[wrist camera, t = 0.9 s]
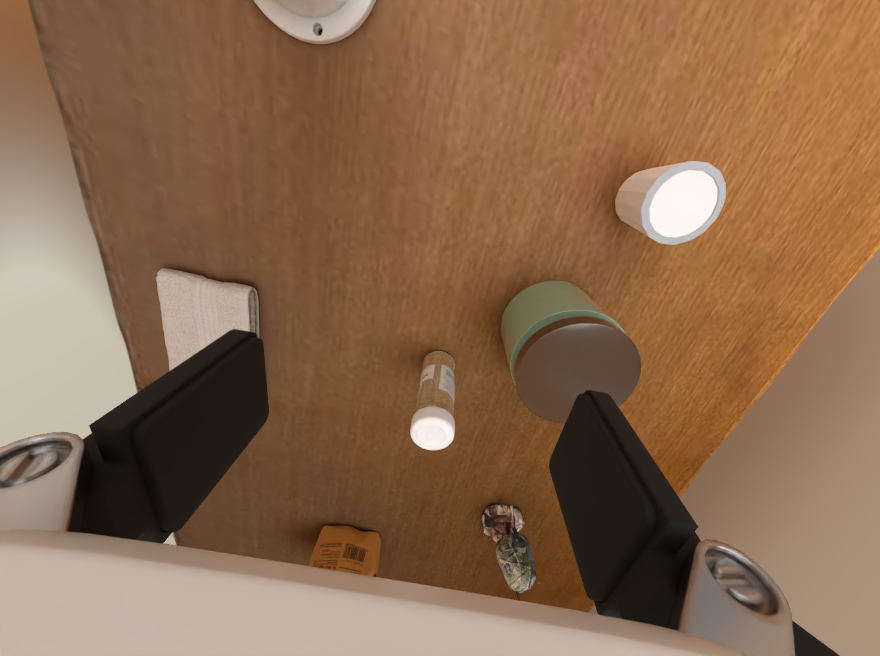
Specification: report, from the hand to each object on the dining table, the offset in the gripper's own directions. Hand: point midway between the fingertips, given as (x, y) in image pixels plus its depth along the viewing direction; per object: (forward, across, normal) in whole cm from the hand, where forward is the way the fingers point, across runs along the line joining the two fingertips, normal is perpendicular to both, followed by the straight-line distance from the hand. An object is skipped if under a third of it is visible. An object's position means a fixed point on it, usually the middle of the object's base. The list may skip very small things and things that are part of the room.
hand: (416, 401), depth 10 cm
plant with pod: (+31, -18, +47) cm, 59 cm away
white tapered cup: (+31, -20, -7) cm, 37 cm away
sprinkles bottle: (+31, -2, +18) cm, 36 cm away
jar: (+31, -14, +9) cm, 35 cm away
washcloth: (+31, +29, +19) cm, 46 cm away
